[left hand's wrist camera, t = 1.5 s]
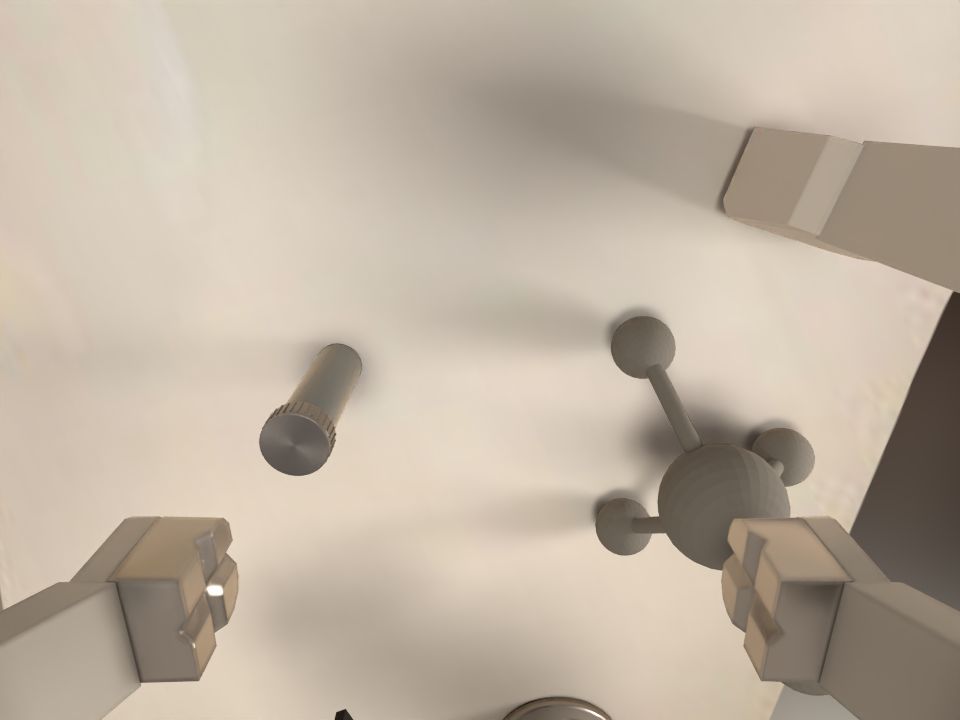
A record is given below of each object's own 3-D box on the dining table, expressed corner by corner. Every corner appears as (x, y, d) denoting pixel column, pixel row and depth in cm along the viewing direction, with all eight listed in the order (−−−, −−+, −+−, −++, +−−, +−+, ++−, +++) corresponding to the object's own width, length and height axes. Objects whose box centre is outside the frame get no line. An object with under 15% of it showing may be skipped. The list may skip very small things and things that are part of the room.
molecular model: (502, 479, 65) (520, 755, 37) (627, 296, 58) (763, 466, 30) (690, 573, 69) (832, 886, 41) (826, 414, 63) (1108, 658, 35)
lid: (260, 450, 49) (250, 464, 47) (276, 391, 47) (267, 403, 45) (326, 470, 49) (319, 485, 47) (344, 413, 48) (338, 426, 46)
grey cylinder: (311, 377, 61) (260, 458, 47) (323, 337, 60) (274, 408, 46) (354, 391, 62) (316, 475, 48) (367, 352, 60) (332, 427, 46)
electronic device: (884, 170, 54) (1313, 231, 26) (840, 254, 57) (1189, 391, 29) (749, 123, 53) (1052, 136, 25) (711, 211, 56) (946, 313, 28)
